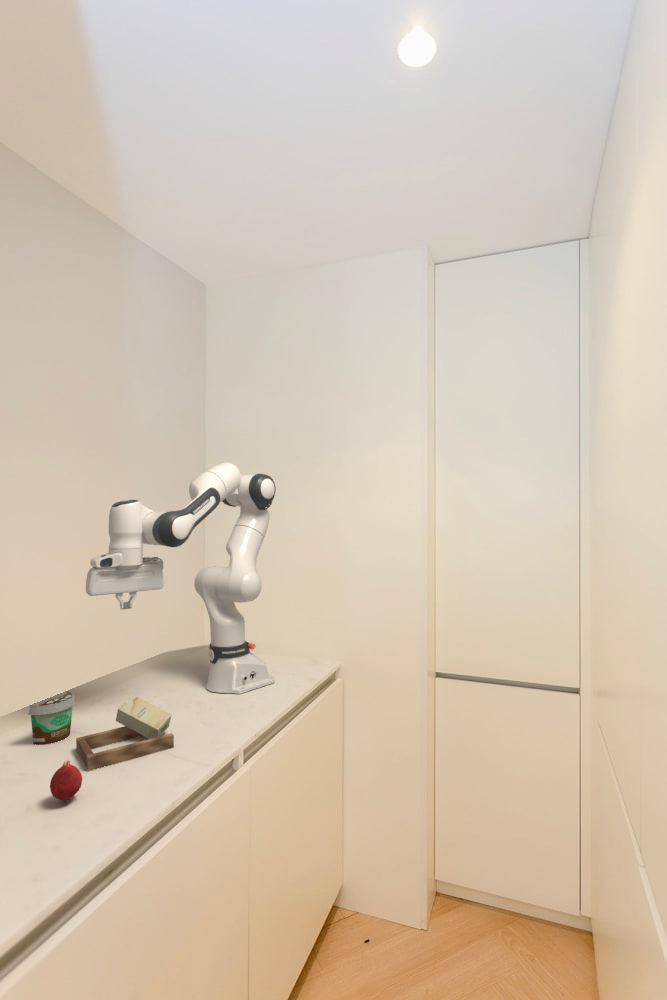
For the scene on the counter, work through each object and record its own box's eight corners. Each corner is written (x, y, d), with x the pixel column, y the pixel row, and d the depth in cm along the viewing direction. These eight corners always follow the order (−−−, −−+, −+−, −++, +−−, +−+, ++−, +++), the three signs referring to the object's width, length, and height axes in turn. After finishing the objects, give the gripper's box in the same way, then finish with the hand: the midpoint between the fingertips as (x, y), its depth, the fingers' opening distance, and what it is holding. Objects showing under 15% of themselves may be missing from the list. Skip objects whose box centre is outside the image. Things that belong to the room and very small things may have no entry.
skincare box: (158, 730, 133) (117, 708, 135) (155, 743, 134) (114, 721, 137) (172, 713, 138) (132, 693, 141) (169, 726, 140) (130, 706, 142)
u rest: (156, 730, 142) (156, 718, 142) (173, 747, 131) (173, 735, 131) (76, 750, 130) (76, 738, 130) (88, 771, 120) (88, 757, 120)
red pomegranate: (79, 806, 106) (79, 765, 106) (47, 811, 104) (46, 770, 104) (84, 791, 111) (84, 752, 111) (53, 796, 110) (53, 756, 110)
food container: (46, 750, 130) (46, 709, 131) (28, 746, 133) (28, 706, 133) (86, 730, 142) (86, 692, 142) (68, 727, 144) (68, 690, 144)
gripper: (159, 555, 157) (159, 602, 156) (84, 560, 145) (84, 611, 144) (167, 557, 152) (167, 605, 151) (89, 561, 139) (89, 615, 139)
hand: (126, 608), depth 148 cm, fingers closed
